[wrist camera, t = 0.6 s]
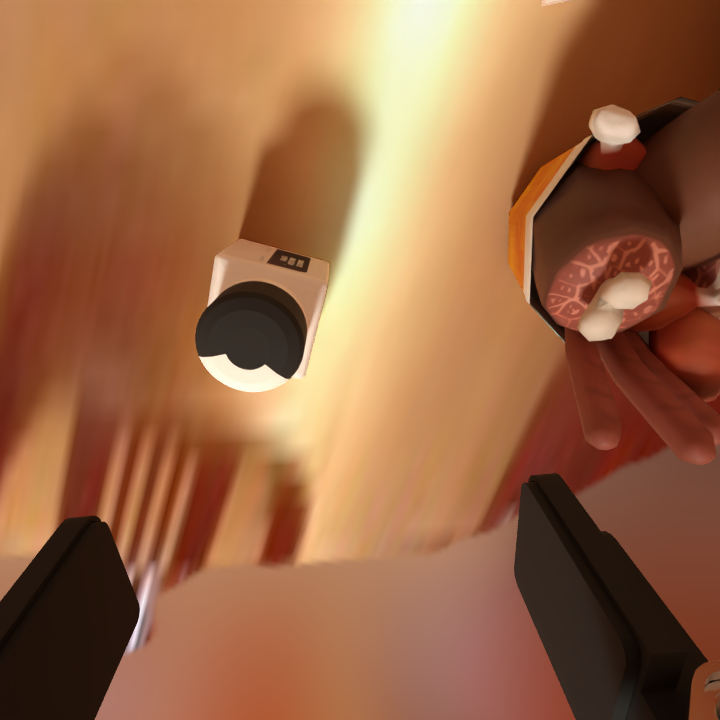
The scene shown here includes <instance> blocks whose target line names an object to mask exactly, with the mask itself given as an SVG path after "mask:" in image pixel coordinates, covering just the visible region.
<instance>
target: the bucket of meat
mask: <svg viewBox="0 0 720 720" xmlns="http://www.w3.org/2000/svg"><path fill="white" fill-rule="evenodd" d="M588 126H589V128H590V130H591V131H592V133H593V135H591V136H589V137H587V138H585V139H584V140H583V141H582V142H581V143H580V144H578V145H576V146H575V147H573V148H571V149H570V150H568V151H567V152H565V153H563V154H562V155H560V156H558V157H557V158H555V159H553V160H552V161H550V162H548V163H547V164H545V165H544V166H542V167H541V168H540V169H539V170H538V172H537V173H536V175H535V176H534V178H533V179H532V180H531V182H530V183H529V185H528V186H527V188H526V189H525V190H524V192H523V193H522V195H521V196H520V198H519V199H518V200H517V202H516V203H515V205H514V206H513V208H512V209H511V210H510V212H509V248H508V264H509V266H510V267H511V269H512V271H513V273H514V275H515V277H516V279H517V280H518V282H519V284H520V286H521V288H522V290H523V292H524V294H525V295H526V300H527V302H528V303H529V304H530V306H531V307H532V308H533V309H534V310H535V311H536V312H537V313H538V314H539V315H540V316H541V318H542V319H543V320H544V321H545V322H546V323H547V324H548V325H549V326H550V327H551V328H552V329H553V331H554V332H555V333H556V334H557V335H558V336H559V337H560V338H561V339H562V340H563V341H564V343H565V352H566V361H567V365H568V369H569V373H570V377H571V382H572V386H573V390H574V394H575V398H576V402H577V407H578V411H579V415H580V419H581V423H582V427H583V432H584V436H585V440H586V441H587V442H588V443H590V444H591V445H593V446H594V447H596V448H597V449H601V450H609V449H612V448H614V447H616V446H617V444H618V442H619V440H620V437H621V429H622V426H621V423H620V420H619V416H618V413H617V410H616V406H615V403H614V400H613V397H612V393H611V390H610V387H609V383H608V380H607V377H606V374H605V370H604V367H603V364H602V361H603V363H604V365H605V366H606V368H607V370H608V372H609V374H610V375H611V377H612V379H613V381H614V383H615V384H616V385H617V386H618V388H619V389H620V390H621V391H622V392H623V394H624V395H625V396H626V397H627V398H628V399H629V401H630V402H631V403H632V404H633V405H634V406H635V408H636V409H637V410H638V411H639V412H640V413H641V415H642V416H643V417H644V418H645V419H646V421H647V422H648V423H649V424H650V425H651V426H652V428H653V429H654V430H655V431H656V432H657V433H658V435H659V436H660V437H661V438H662V439H663V440H664V442H665V443H666V444H667V445H668V446H669V448H670V449H671V450H672V451H673V452H674V453H675V454H676V456H677V457H678V458H679V459H680V460H681V461H685V462H689V463H694V464H697V465H701V464H708V463H709V462H711V461H712V460H713V459H714V458H715V457H716V451H715V446H716V445H718V444H720V416H719V415H718V414H717V413H716V412H715V411H714V410H713V409H712V408H711V407H710V406H709V405H708V404H707V403H706V402H708V401H713V400H715V399H716V397H717V396H718V395H719V394H720V89H719V90H718V91H716V92H715V93H713V94H711V95H710V96H708V97H707V98H705V99H704V100H702V101H701V102H698V101H694V100H690V99H687V98H683V97H679V98H677V99H674V100H672V101H670V102H667V103H665V104H663V105H660V106H658V107H656V108H653V109H651V110H649V111H647V112H644V113H642V114H640V115H637V116H634V115H633V114H632V113H631V112H630V111H629V110H626V109H623V108H621V107H618V106H616V105H613V104H612V105H608V106H605V107H601V108H598V109H594V110H593V112H592V115H591V118H590V121H589V124H588ZM601 359H602V360H601Z"/></svg>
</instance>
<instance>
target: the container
mask: <svg viewBox="0 0 720 720" xmlns="http://www.w3.org/2000/svg"><path fill="white" fill-rule="evenodd" d="M328 276H329V263H328V262H326V261H323V260H320V259H316V258H312V257H308V256H305V255H301V254H297V253H293V252H290V251H286V250H282V249H279V248H275V247H271V246H267V245H264V244H260V243H256V242H252V241H249V240H245V239H239V240H237V241H236V242H234V243H233V244H231V245H230V246H228V247H227V248H225V249H224V250H223V251H221V252H220V253H218V254H217V255H216V256H215V260H214V267H213V273H212V280H211V287H210V293H209V300H208V307H207V308H206V310H205V311H204V312H203V314H202V315H201V317H200V319H199V321H198V324H197V328H196V334H195V340H196V348H197V352H198V355H199V357H200V359H201V361H202V363H203V365H204V366H205V368H206V369H207V370H208V371H209V372H210V374H211V375H213V376H214V377H215V378H216V379H217V380H219V381H220V382H222V383H223V384H225V385H227V386H229V387H231V388H234V389H237V390H241V391H247V392H262V391H267V390H271V389H274V388H276V387H279V386H280V385H282V384H284V383H285V382H286V381H288V380H289V379H290V378H291V377H293V378H298V379H302V378H304V376H305V375H306V371H307V367H308V363H309V359H310V355H311V351H312V347H313V343H314V339H315V335H316V331H317V327H318V323H319V319H320V315H321V311H322V307H323V303H324V299H325V295H326V291H327V287H328Z"/></svg>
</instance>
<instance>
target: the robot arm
mask: <svg viewBox="0 0 720 720" xmlns="http://www.w3.org/2000/svg"><path fill="white" fill-rule="evenodd" d="M514 573H515V578H516V582H517V585H518V588H519V590H520V592H521V595H522V597H523V599H524V602H525V604H526V606H527V608H528V611H529V613H530V615H531V618H532V620H533V622H534V625H535V627H536V629H537V631H538V634H539V636H540V638H541V641H542V643H543V645H544V647H545V650H546V652H547V654H548V656H549V659H550V661H551V664H552V666H553V668H554V671H555V673H556V675H557V677H558V680H559V682H560V684H561V687H562V689H563V691H564V694H565V695H566V698H567V700H568V703H569V705H570V707H571V709H572V712H573V714H574V717H575V719H576V720H720V661H718V660H716V661H711V662H708V660H707V659H706V658H705V657H704V655H703V654H702V653H701V651H700V650H699V648H698V647H697V646H696V645H695V643H694V642H693V641H692V639H691V638H690V637H689V635H688V634H687V633H686V631H685V630H684V629H683V627H682V626H681V625H680V624H679V622H678V621H677V619H676V618H675V617H674V615H673V614H672V613H671V611H670V610H669V609H668V608H667V606H666V605H665V604H664V602H663V601H662V600H661V598H660V597H659V596H658V595H657V593H656V592H655V590H654V589H653V588H652V586H651V585H650V584H649V582H648V581H647V580H646V579H645V577H644V576H643V575H642V573H641V572H640V571H639V569H638V568H637V567H636V565H635V564H634V563H633V561H632V560H631V559H630V557H629V556H628V555H627V553H626V552H625V551H624V549H623V548H622V547H621V545H620V544H619V543H618V541H617V540H616V539H615V538H614V537H613V536H612V535H611V534H610V533H607V532H606V531H600V530H599V528H598V527H597V525H596V524H595V523H594V521H593V520H592V519H591V517H590V516H589V515H588V513H587V512H586V510H585V509H584V508H583V506H582V505H581V504H580V502H579V501H578V499H577V498H576V497H575V495H574V494H573V493H572V491H571V490H570V489H569V487H568V486H567V484H566V483H565V482H564V480H563V479H562V478H561V477H560V475H559V474H556V473H553V474H542V475H532V476H530V478H529V481H528V483H523V484H522V487H521V497H520V508H519V520H518V531H517V542H516V554H515V566H514ZM139 612H140V608H139V603H138V600H137V598H136V595H135V593H134V590H133V587H132V585H131V582H130V580H129V577H128V575H127V572H126V570H125V567H124V565H123V562H122V559H121V557H120V554H119V552H118V549H117V547H116V544H115V542H114V539H113V537H112V534H111V531H110V529H109V526H108V525H107V523H105V522H101V520H100V518H98V517H97V516H86V517H75V518H68V519H66V520H64V521H63V522H62V523H61V524H60V526H59V527H58V528H57V530H56V531H55V532H54V533H53V535H52V536H51V537H50V539H49V540H48V541H47V542H46V544H45V545H44V546H43V548H42V549H41V550H40V551H39V553H38V554H37V555H36V557H35V558H34V559H33V560H32V562H31V563H30V564H29V565H28V567H27V568H26V569H25V571H24V572H23V573H22V575H21V576H20V577H19V578H18V580H17V581H16V582H15V583H14V585H13V586H12V587H11V589H10V590H9V591H8V593H7V594H6V595H5V596H4V598H3V599H2V600H1V601H0V720H94V719H95V717H96V715H97V713H98V710H99V708H100V706H101V703H102V701H103V699H104V697H105V695H106V692H107V690H108V688H109V686H110V683H111V681H112V679H113V676H114V674H115V672H116V670H117V667H118V665H119V663H120V661H121V658H122V656H123V654H124V652H125V649H126V647H127V645H128V642H129V640H130V638H131V636H132V633H133V631H134V629H135V627H136V624H137V622H138V618H139Z"/></svg>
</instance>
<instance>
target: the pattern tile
mask: <svg viewBox="0 0 720 720" xmlns="http://www.w3.org/2000/svg"><path fill="white" fill-rule="evenodd" d="M564 1H569V0H541V6H542V7H543V6H547V5H551V4H556V3H560V2H564Z"/></svg>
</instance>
